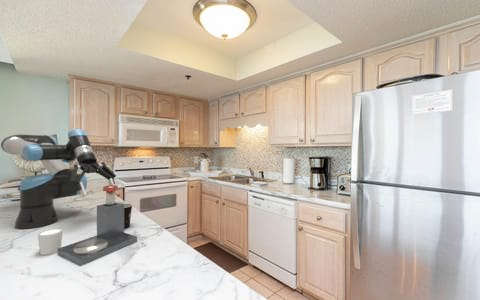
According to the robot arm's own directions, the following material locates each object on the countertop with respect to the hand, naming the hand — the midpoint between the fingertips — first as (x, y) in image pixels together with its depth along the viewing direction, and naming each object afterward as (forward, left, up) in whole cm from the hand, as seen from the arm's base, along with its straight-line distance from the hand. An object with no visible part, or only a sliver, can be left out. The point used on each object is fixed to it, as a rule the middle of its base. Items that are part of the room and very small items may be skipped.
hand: (100, 193), depth 103 cm
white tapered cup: (+11, -23, -16) cm, 30 cm away
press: (+24, -13, -15) cm, 31 cm away
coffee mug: (+11, +5, -16) cm, 20 cm away
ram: (+20, -7, -5) cm, 21 cm away
